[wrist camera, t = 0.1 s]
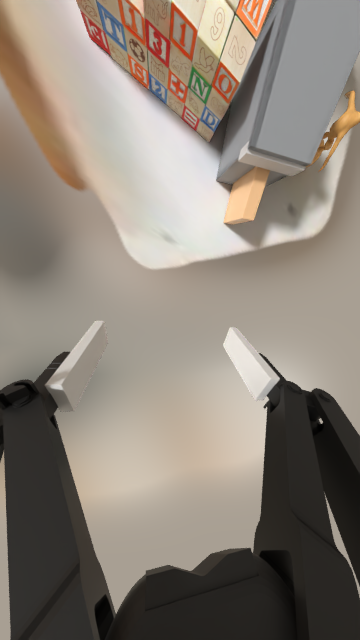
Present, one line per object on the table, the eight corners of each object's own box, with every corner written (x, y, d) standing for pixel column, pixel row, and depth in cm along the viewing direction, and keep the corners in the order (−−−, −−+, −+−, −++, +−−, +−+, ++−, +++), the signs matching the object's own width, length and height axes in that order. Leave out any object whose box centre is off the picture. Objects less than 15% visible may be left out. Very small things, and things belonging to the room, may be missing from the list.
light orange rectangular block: (244, 135, 26) (279, 93, 19) (255, 138, 27) (293, 99, 19) (223, 222, 33) (242, 218, 26) (232, 224, 34) (253, 220, 26)
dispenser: (234, 85, 23) (302, -53, 12) (283, 104, 25) (382, -3, 14) (215, 183, 30) (249, 149, 18) (256, 192, 31) (309, 168, 20)
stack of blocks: (88, 40, 20) (10, -177, 10) (95, -42, 17) (-4, -469, 7) (209, 143, 27) (241, 83, 16) (227, 95, 24) (279, -14, 14)
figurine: (301, 184, 32) (368, 158, 21) (277, 184, 31) (334, 158, 21) (319, 127, 27) (413, 61, 17) (291, 127, 27) (371, 58, 17)
